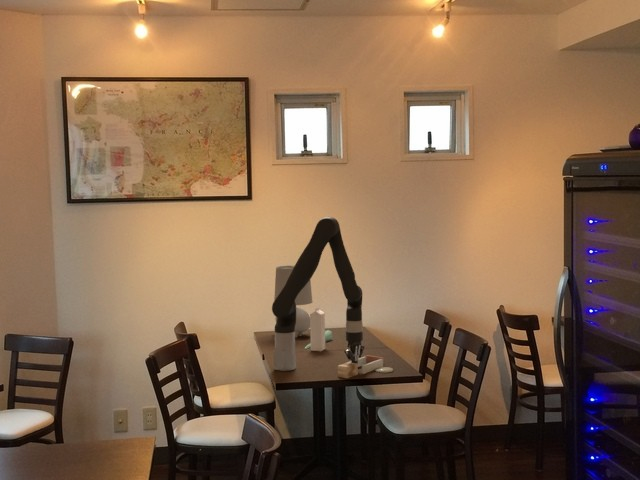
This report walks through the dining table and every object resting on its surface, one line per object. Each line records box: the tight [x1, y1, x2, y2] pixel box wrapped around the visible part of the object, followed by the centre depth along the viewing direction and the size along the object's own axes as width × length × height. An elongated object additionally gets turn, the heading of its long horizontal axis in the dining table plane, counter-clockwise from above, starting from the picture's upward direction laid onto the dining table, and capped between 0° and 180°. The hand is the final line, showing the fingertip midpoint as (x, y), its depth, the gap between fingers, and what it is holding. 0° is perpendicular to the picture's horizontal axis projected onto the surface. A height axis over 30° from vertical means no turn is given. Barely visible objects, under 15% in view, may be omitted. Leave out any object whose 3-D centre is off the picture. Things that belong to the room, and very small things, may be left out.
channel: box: [349, 354, 385, 375], centre depth 320 cm, size 17×10×4 cm, turn 142°
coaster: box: [374, 366, 394, 374], centre depth 315 cm, size 8×8×1 cm
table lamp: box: [273, 264, 313, 338], centre depth 397 cm, size 23×22×40 cm
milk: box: [309, 306, 326, 352], centre depth 360 cm, size 6×6×22 cm
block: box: [337, 361, 359, 379], centre depth 308 cm, size 8×5×5 cm, turn 142°
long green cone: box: [304, 329, 334, 350], centre depth 374 cm, size 5×6×27 cm
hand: (354, 368), depth 313 cm, fingers closed
